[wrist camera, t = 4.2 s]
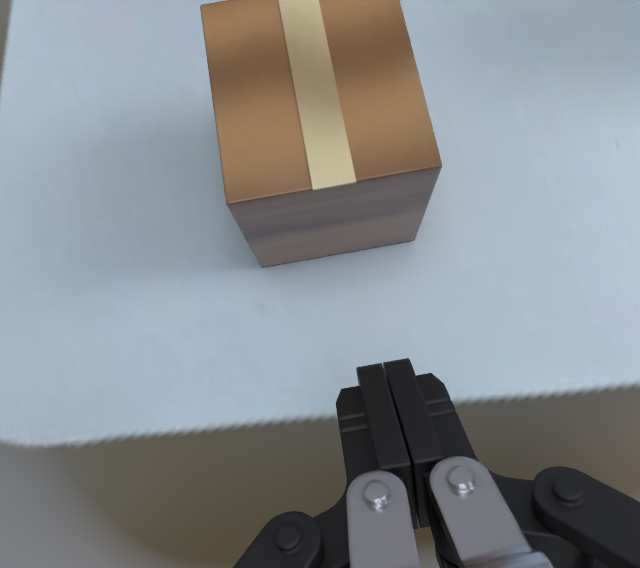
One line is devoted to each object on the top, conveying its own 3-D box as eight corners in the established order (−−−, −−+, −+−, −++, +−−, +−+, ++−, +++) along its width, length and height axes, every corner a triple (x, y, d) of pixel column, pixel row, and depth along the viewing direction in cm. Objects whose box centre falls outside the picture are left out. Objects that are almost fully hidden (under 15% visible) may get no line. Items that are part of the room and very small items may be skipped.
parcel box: (415, 241, 26) (443, 166, 19) (261, 268, 26) (225, 205, 19) (379, 90, 29) (392, -33, 21) (238, 115, 29) (198, 2, 21)
